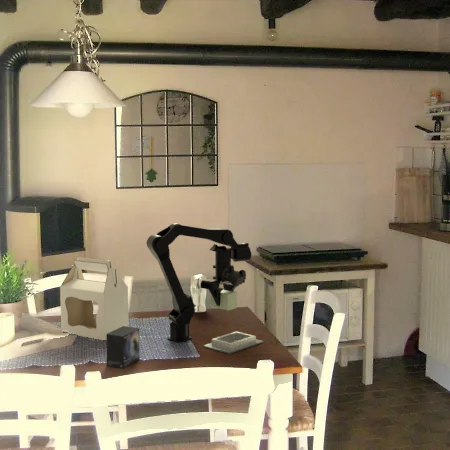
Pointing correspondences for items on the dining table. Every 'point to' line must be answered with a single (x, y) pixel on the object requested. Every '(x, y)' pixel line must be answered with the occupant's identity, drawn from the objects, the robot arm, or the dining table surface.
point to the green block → (225, 300)
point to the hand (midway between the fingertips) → (223, 304)
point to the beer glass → (198, 292)
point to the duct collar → (233, 342)
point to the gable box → (93, 291)
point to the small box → (122, 347)
